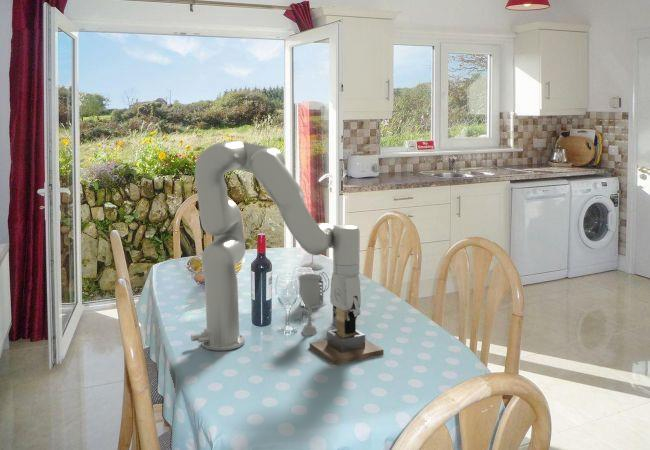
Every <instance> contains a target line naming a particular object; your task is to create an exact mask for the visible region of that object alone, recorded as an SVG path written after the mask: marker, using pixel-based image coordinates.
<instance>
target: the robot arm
mask: <svg viewBox="0 0 650 450" xmlns="http://www.w3.org/2000/svg"><path fill="white" fill-rule="evenodd" d="M235 170H236V171H237V170H238V171H243V172H248V173H252V175H253V176H254V178H255V179H256V180H257V181H258V183H259V184H260V186H261V187H262V188H263V189H264V190H265V192H266V193H267V195H268V196H269V197H270V199H271V200H272V202H273V203H274V204H275V205H276V207H277V209H278V212H279V213H280V216H281V217H282V220H283V221H284V224H285V225H286V227H287V229H288V230H289V233H291V235H292V236H293V237H294V239H295V240H296V242H297V243H298V244H299V246H301V248H302V250H304V251H305V252H306V253H307V254H310V255H311V256H312V255H313V256H320V255H323V254H324V253H325V252H326V251H328V250H329V249H330V248H331V249H332V273H331V279H330V280H331V281H330V297H329V300H330V303H331V305H332V306H333V305H334V306H335V308H336V315H337V308H339V309H341V310H343V311H345V312H346V320H345V334H351V333H355V331H356V330H357V328H356V327H357V325H356V324H357V323H356V322H357V318H358V316H360V315H361V309H360V308H361V304H362V302H361V301H362V300H361V299H362V298H361V295H362V293H361V292H362V291H361V282H360V252H361V251H360V248H361V247H360V244H361V243H360V242H361V241H360V237H361V236H360V234H361V233H360V229H359V227H358V226H355V225H352V224H342V225H341V224H340V225H337V224H330V223H326V222H318V223H317V222H316V221H315V219H314V217H313V216H312V214H311V213H310V211H309V210H308V207H307V205H306V201H305V196H304V192H303V189H302V187H301V186H300V185H299V184H298V181H296V179H295V178H294V176H293V175H292V174H291V173H290V172H289V170H288V169H287V167H286V159H285V156H284V154H283V153H282V152H281V151H280V150H279V149H277V148H275V147H273V146H268V145H267V146H265V145H262V144H254V143H250V142H244V141H239V140H228V141H221V142H217V143H214V144H212V145H210V146H208V147H207V148H205V149H204V150H202V152H201V153H200V155H199V156H198V157H197V159H196V161H195V165H194V177H195V178H194V179H195V185H196V193H197V202H198V203H197V204H198V210H199V219H200V224H201V228H202V230H203V231H204V232H205V233H206V235H209V236H213V237H214V240H213V241H211V242H210V243H208V244H207V245H206V246H205V248H204V250H203V251H202V256H201V265H202V270H203V271H202V272H203V278H204V289H205V290H204V291H205V292H204V293H205V311H206V312H205V313H206V315H205V316H206V317H205V319H206V328H203V331H202V332H201V333H199V334H198V333H196V334H191V335H190V340H191V342H197V343H199V344H200V343H201V345H202V348H205V349H207V350H211V351H218V352H219V351H220V352H221V351H231V350H235V349H238V348H240V347H242V346H243V345H244V344H245V337H244V336H243V335H241V334H240V322H239V321H240V317H239V316H240V315H239V313H240V312H239V287H238V286H239V285H238V284H239V283H238V277H237V272H236V265H237V264H239V263H241V261H242V260H243V258H244V256H245V254H246V240H245V239H246V238H245V232H244V223H243V216H242V212H241V209H240V208H239V206H238V204H236V202H234V201H233V200H231V199H229V196H228V188H227V184H226V180H225V174H226V173H228V172H232V171H235ZM352 307H353V309H351V308H352ZM349 312H353V313H351V314H350V313H349Z"/></svg>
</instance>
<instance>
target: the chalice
mask: <svg viewBox="0 0 650 450" xmlns="http://www.w3.org/2000/svg"><path fill="white" fill-rule="evenodd" d="M321 277H322V275H321V274H320V275H319V274H314V273H313V274H312V273H307V274H306V273H305V274H300V275H298V276H297V279H298V282H299V283H298V284H299V285H298V286H299V290H298V293H299V295H300V297H301V298H300V299H301V301H302V300H303V302H304V304H305V305H306V306H308V308H307V311H306V313H307V317H306V319H307V323H306V324H305V325H303V328H302V331H301V334H302V335H305V336H314V335H315V336H316V335H317V334H318V333H319V332H318V331H317V327H316V325H314V324H313V323H312V319H313V317H312V313H313V311H312V308H311V306H312V305H314V304H315V302H316V299H317V297H318V294H319V284H320V283H319V280H320V278H321Z"/></svg>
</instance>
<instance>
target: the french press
mask: <svg viewBox="0 0 650 450" xmlns="http://www.w3.org/2000/svg"><path fill="white" fill-rule="evenodd" d="M313 257H314V255H312V254H311V262H306V263H304V264H303V265H302V266H301V267H311V268H312V270H313V272H318V271H321V270H324V265H323V264H321V263H318V262H315V261H314V259H313ZM301 267H300V268H301ZM324 274H325V276H326V277H325V276H324ZM318 275H320V276H321V278H320V280H319V294H318V297H317V299H316V302H315V304H314V305H312V306H311V309H319V308H323V307H325V306H327V303H326V302H325V301H324V293H325V292H327V291H328V290H329V287H330V278H329V277H328V275H327V274H326V272H325V271H322V272H320V273H319V274H318ZM323 278H324V280H325V282H327V281H328V285H327V286H325V287H324V281H323ZM326 278H327V279H326ZM298 305H299V306H300V307H301V301H300V302H299V304H298ZM304 308H307V309H308V306H306V305H305V307H304Z"/></svg>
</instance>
